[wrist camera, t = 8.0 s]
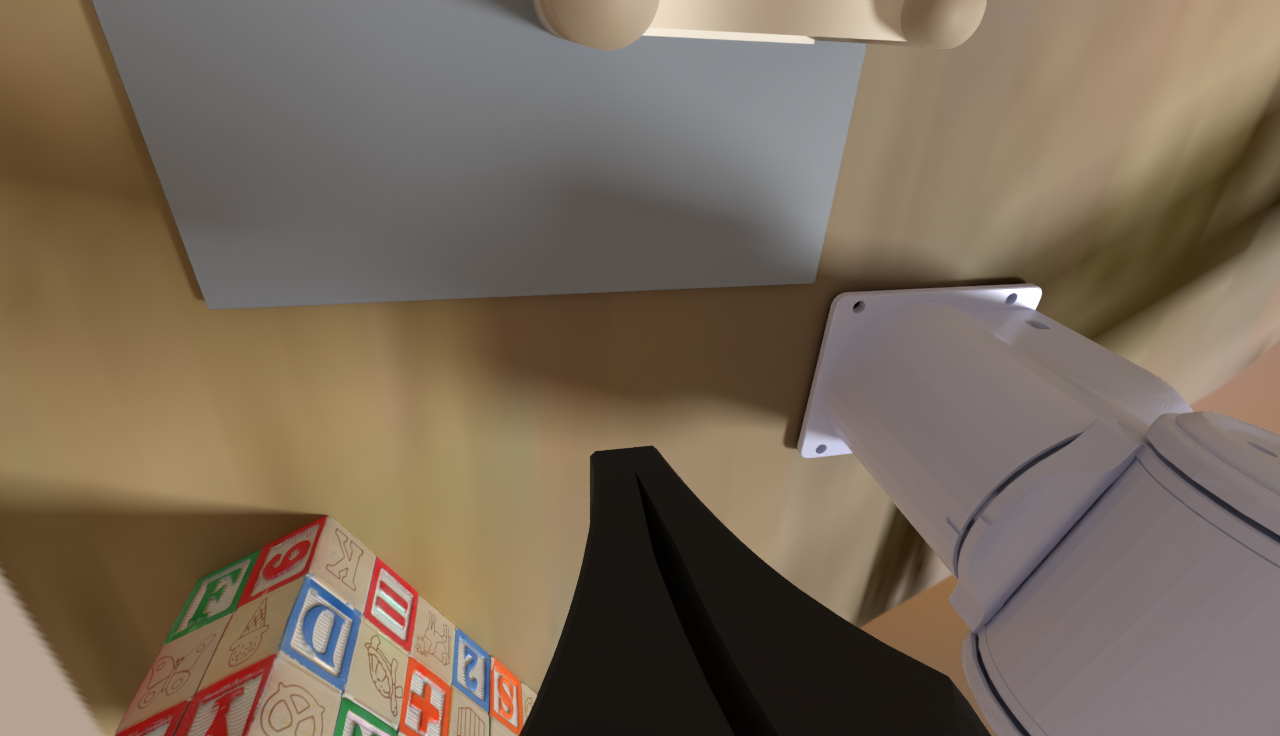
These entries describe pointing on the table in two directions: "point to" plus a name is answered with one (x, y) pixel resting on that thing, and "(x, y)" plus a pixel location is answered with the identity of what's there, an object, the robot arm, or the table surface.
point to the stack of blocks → (320, 654)
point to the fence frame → (766, 19)
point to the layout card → (477, 149)
